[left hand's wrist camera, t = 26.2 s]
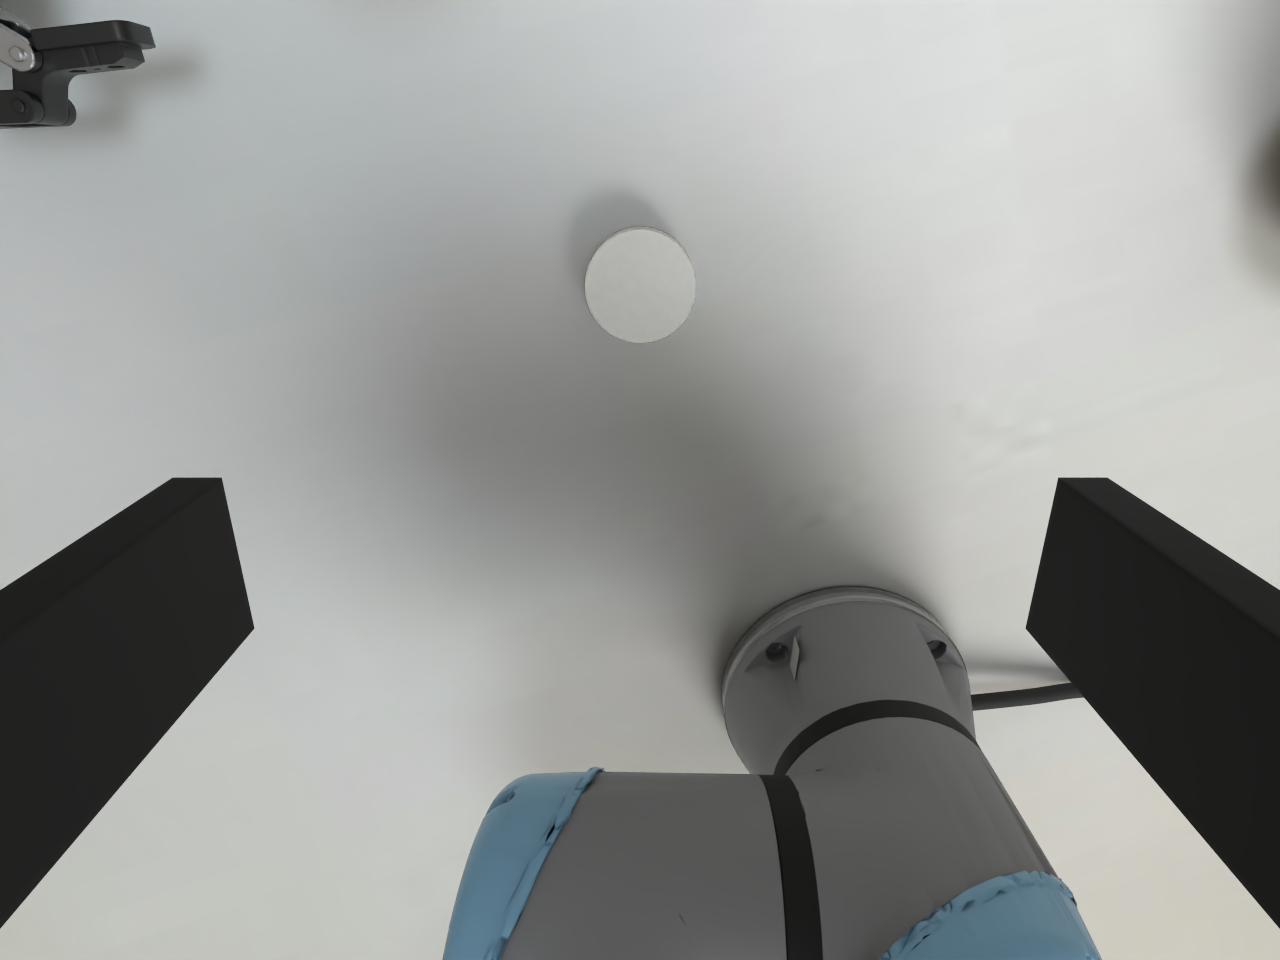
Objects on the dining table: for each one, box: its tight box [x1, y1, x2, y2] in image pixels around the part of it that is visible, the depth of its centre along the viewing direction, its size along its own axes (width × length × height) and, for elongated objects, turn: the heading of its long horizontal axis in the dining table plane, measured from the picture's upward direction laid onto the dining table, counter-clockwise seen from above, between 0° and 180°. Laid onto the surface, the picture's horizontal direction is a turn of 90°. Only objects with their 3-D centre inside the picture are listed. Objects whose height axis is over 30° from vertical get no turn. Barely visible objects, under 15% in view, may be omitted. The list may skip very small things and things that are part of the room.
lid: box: [585, 227, 696, 343], centre depth 39 cm, size 6×6×2 cm
